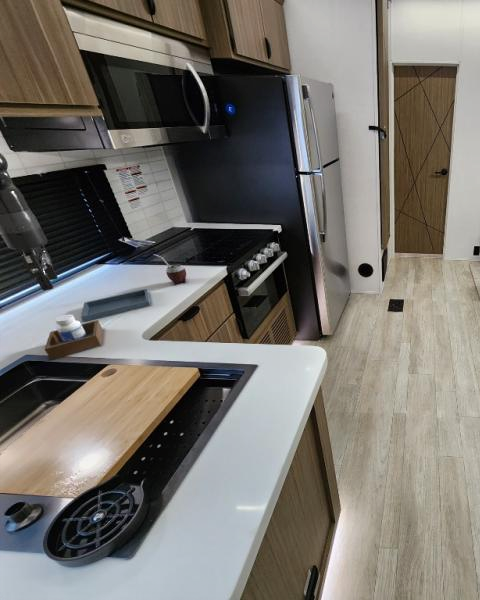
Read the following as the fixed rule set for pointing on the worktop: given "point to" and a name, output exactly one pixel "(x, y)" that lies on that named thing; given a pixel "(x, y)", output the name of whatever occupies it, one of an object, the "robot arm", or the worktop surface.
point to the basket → (74, 341)
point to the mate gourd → (175, 272)
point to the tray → (115, 305)
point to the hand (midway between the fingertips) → (50, 284)
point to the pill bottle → (70, 328)
